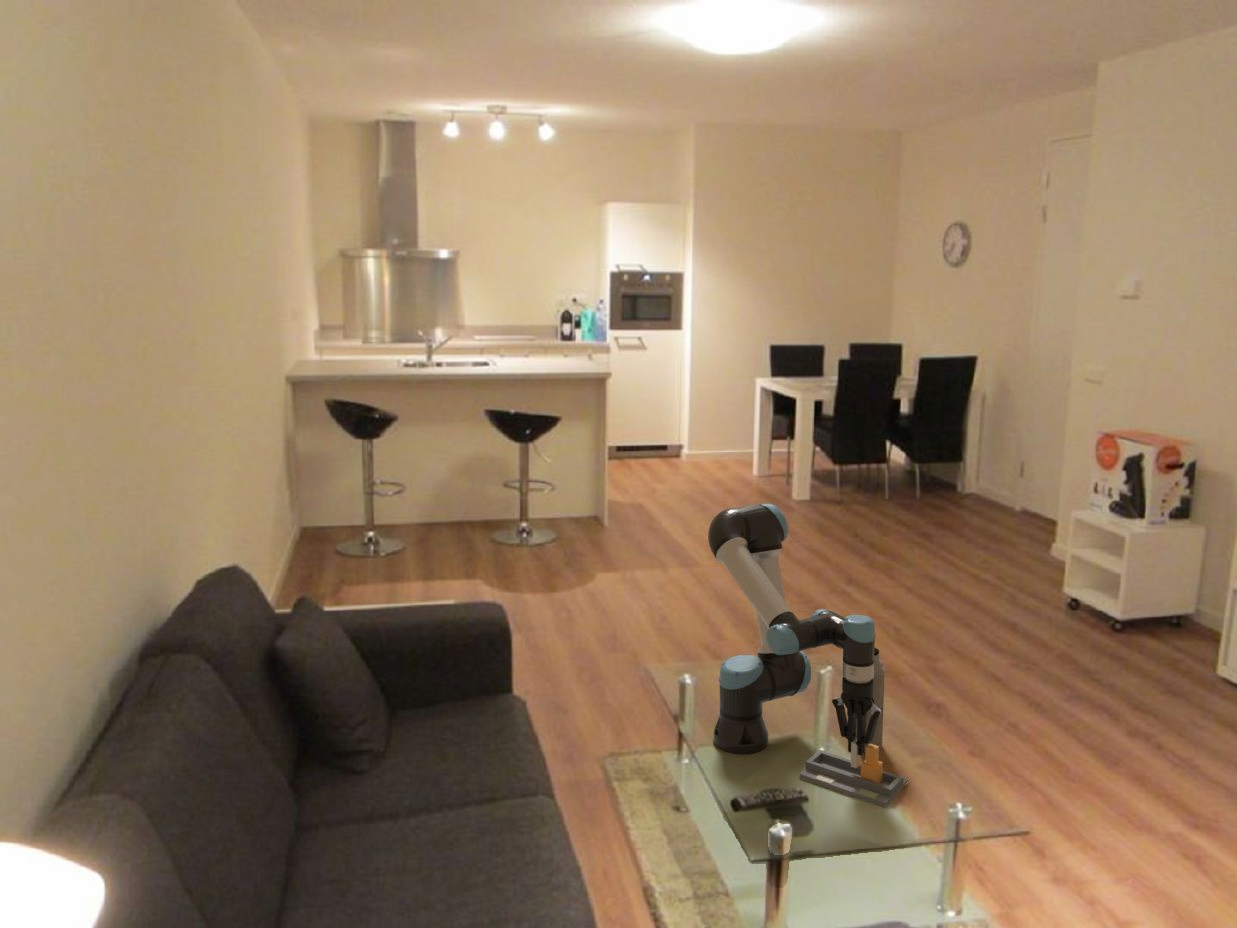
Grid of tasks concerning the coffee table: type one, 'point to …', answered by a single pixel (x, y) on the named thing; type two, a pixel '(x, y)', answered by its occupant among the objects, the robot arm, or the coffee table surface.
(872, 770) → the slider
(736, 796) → the coffee table surface
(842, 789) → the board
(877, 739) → the thermos bottle
